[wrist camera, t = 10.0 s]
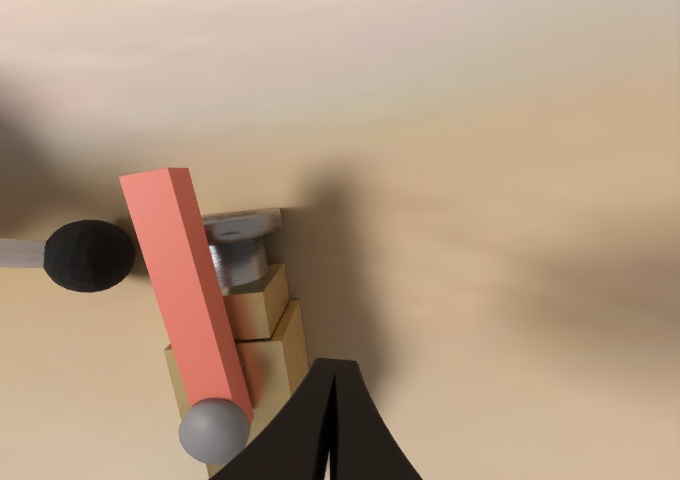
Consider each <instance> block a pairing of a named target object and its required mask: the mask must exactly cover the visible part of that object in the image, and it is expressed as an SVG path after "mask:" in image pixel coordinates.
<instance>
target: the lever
mask: <svg viewBox="0 0 680 480" xmlns="http://www.w3.org/2000/svg"><path fill="white" fill-rule="evenodd" d="M119 180H120V183H121V186H122V190H123V193H124V196H125V199H126V202H127V206H128V209H129V212H130V215H131V218H132V222H133V225H134V228H135V231H136V234H137V237H138V241H139V244H140V247H141V250H142V253H143V257H144V260H145V263H146V266H147V269H148V273H149V276H150V279H151V282H152V285H153V288H154V292H155V295H156V298H157V301H158V304H159V308H160V311H161V314H162V317H163V320H164V324H165V327H166V330H167V333H168V336H169V340H170V343H171V346H172V349H173V352H174V355H175V359H176V362H177V365H178V368H179V371H180V375H181V378H182V381H183V384H184V387H185V391H186V394H187V397H188V400H189V403H190V406H191V408H190V410H189V411H188V412H187V414H186V415H185V417H184V418H183V420H182V422H181V424H180V427H179V439H180V442H181V444H182V446H183V448H184V449H185V450H186V452H187V453H188V454H189V455H191V456H192V457H193V458H195V459H196V460H198V461H200V462H203V463H206V464H211V465H223V464H227V463H229V462H230V461H231V460H232V459H233V458H234V457H235V456H236V455H237V454H239V453H240V452H241V451H242V450H243V449H244V448H245V446H246V444H247V441H248V439H249V436H250V431H251V427H250V426H251V424H252V421H253V419H254V414H253V410H252V406H251V402H250V399H249V395H248V391H247V387H246V384H245V380H244V376H243V372H242V369H241V365H240V361H239V357H238V354H237V350H236V346H235V342H234V339H233V335H232V331H231V327H230V323H229V320H228V316H227V312H226V308H225V305H224V301H223V297H222V293H221V290H220V286H219V282H218V278H217V275H216V271H215V267H214V263H213V260H212V256H211V252H210V248H209V245H208V241H207V237H206V233H205V230H204V226H203V222H202V218H201V215H200V211H199V207H198V203H197V200H196V196H195V192H194V188H193V184H192V181H191V177H190V173H189V169H188V168H164V169H158V170H153V171H147V172H142V173H136V174H131V175H126V176H120V177H119Z"/></svg>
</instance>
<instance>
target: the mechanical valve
mask: <svg viewBox="0 0 680 480" xmlns="http://www.w3.org/2000/svg"><path fill="white" fill-rule="evenodd" d="M134 260H135V250H134V246H133V244H132V242H131V240H130V238H129V237H128V235H127V234H126V233H125V232H124V231H123V230H121V229H119V228H118V227H116V226H114V225H112V224H111V223H107V222H104V221H99V220H82V221H78V222H73V223H70V224H67V225H64V226H63V227H61V228H60V229H58V230H57V231H55V232H54V233H53V234H52V235H51V237H50V238H49V239H48V240H47V241H40V240H22V239H4V238H0V267H25V268H44V269H45V271H46V272H47V274H48V275H49V276H50V278H51V279H52V280H53V281H54V282H55V283H57V284H58V285H60V286H62V287H64V288H66V289H68V290H73V291H77V292H90V293H92V292H98V291H103V290H106V289H109V288H111V287H113V286H115V285H117V284H118V283H120V282H121V281H122V280H123V279H124V278H125V277H126V276H127V275H128V274H129V272H130V271H131V269H132V266H133V263H134Z"/></svg>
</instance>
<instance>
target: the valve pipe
mask: <svg viewBox="0 0 680 480" xmlns="http://www.w3.org/2000/svg"><path fill="white" fill-rule="evenodd" d="M201 218H202V222H203V226H204V230H205V233H206V237H207V241H208V245H209V248H210V252H211V256H212V260H213V263H214V267H215V271H216V275H217V278H218V282H219V286H220V290H221V293H222V297H223V301H224V305H225V308H226V312H227V316H228V320H229V323H230V327H231V331H232V335H233V339H234V342H235V346H236V350H237V354H238V357H239V361H240V365H241V369H242V372H243V376H244V380H245V384H246V387H247V391H248V395H249V399H250V402H251V406H252V410H253V414H254V419H253V421H252V424H251V426H250V427H251V431H250V436H249V439H248V441H247V444H246V446H247V445H248V444H249V443H250V442H251V441H252V440H253V439H254V438H255V437H256V436H257V435H258V434H259V433H260V432H261V431H262V430H263V429H264V428H265V427H266V426H267V425H268V424H269V423H270V421H271V420H272V419H273V418H274V417H275V416H276V414H277V413H278V412H279V411H280V410H281V408H282V407H283V406H284V405H285V404H286V402H287V401H288V400H289V399H290V397H291V396H292V394H293V393H294V392H295V390H296V389H297V388H298V386H299V385H300V384H301V382H302V381H303V379H304V377H305V376H306V374H307V373H308V371H309V364H308V357H307V350H306V343H305V336H304V329H303V323H302V316H301V309H300V302H299V300H289V299H290V297H289V291H288V284H287V278H286V271H285V265H284V263H281V264H271V265H267V260H266V254H265V248H264V242H263V236H264V235H267V234H270V233H273V232H275V231H278V230H280V229H281V228H282V227H283V226H282V219H281V212H280V209H279V208H269V209H259V210H250V211H241V212H231V213H222V214H212V215H203V216H201ZM164 353H165V357H166V361H167V365H168V368H169V372H170V376H171V380H172V384H173V388H174V392H175V396H176V400H177V404H178V408H179V412H180V416H181V420H183V418H184V417H185V415H186V414H187V412H188V411H189V410H190V408H191V406H190V403H189V400H188V397H187V394H186V391H185V387H184V384H183V381H182V378H181V375H180V371H179V368H178V365H177V362H176V359H175V355H174V352H173V349H172V346H171V344H170V345H169V346H167V347H166V348H165V349H164ZM246 446H245V447H246ZM227 464H228V463H227ZM225 465H226V464H223V465H211V464H206V466H207V470H208V474H209V478H211V477H212V476H213V475H215V474H216V473H217V472H218V471H219V470H221V469H222V468H223V467H224V466H225Z"/></svg>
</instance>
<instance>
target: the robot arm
mask: <svg viewBox="0 0 680 480" xmlns="http://www.w3.org/2000/svg"><path fill="white" fill-rule="evenodd" d="M329 449H330V480H423V479H422V478H421V477H420V475H419V474H418V473H417V471H416V470H415V469H414V467H413V466H412V465H411V463H410V462H409V460H408V459H407V458H406V456H405V455H404V453H403V452H402V450H401V449H400V447H399V446H398V444H397V443H396V441H395V440H394V438H393V437H392V435H391V433H390V432H389V430H388V428H387V427H386V425H385V423H384V421H383V420H382V418H381V416H380V414H379V412H378V410H377V408H376V406H375V404H374V402H373V401H372V399H371V397H370V394H369V392H368V390H367V388H366V385H365V383H364V381H363V378H362V375H361V372H360V369H359V365H358V363H357V362H356V361H350V360H338V359H326V358H317V359H316V360H314V362H313V364H312V366H311V368H310V369H309V371H308V373H307V374H306V376H305V377H304V379H303V381H302V382H301V384H300V385H299V386H298V388H297V389H296V390H295V392H294V393H293V394H292V396H291V397H290V399H289V400H288V401H287V402H286V404H285V405H284V406H283V407H282V408H281V410H280V411H279V412H278V413H277V414H276V416H275V417H274V418H273V419H272V420H271V421H270V423H269V424H268V425H267V426H266V427H265V428H264V429H263V430H262V431H261V432H260V433H259V434H258V435H257V436H256V437H255V438H254V439H253V440H252V441H251V442H250V443H249V444H248V445H247V446H246V447H245V448H244V449H243V450H242V451H241V452H240V453H239V454H237V455H236V456H235V457H234V458H233V459H232V460H231V461H230V462H229V463H228V464H226V465H225V466H224V467H223V468H222V469H221V470H219V471H218V472H217V473H216V474H215V475H213V476H212V477H211V478H210V479H208V480H324V478H325V472H326V466H327V461H328V455H329Z"/></svg>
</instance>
